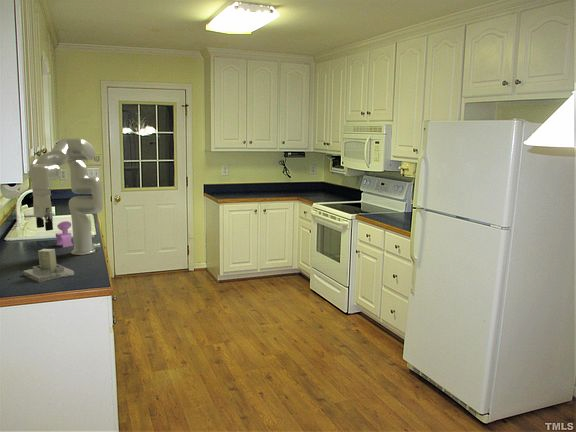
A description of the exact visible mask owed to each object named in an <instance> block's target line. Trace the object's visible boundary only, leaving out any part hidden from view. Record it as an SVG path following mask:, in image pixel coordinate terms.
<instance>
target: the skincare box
mask: <svg viewBox="0 0 576 432" xmlns="http://www.w3.org/2000/svg"><path fill="white" fill-rule="evenodd" d="M37 253H38V255H37V256H38V263H39V265H40V269H42V270H47V269H50V273H53V272H56V269H55V268H57V265H56V264H57V256H56V250H55V248H42V249H40V250H37Z"/></svg>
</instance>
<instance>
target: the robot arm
mask: <svg viewBox="0 0 576 432" xmlns="http://www.w3.org/2000/svg"><path fill="white" fill-rule="evenodd" d="M95 157H96V149H95V147H94V146H93V145H92V144H91V143H90V142H88V141H87V140H85V139H83V138H68V137H67V138H66V137H65V138H62V139H60V140H58V142H56V144H55V145H54V147H53V148H52V149H51V151H48V152H45V153H44V154H42V155H39V156H37V157H35V158H34V159H33V160H32V161H31V163H30V164H31V165H30V164H29V165H30V171H29V174H28V173H27V176H28V177H29V179H31V190H32V197H33V198H32V200H33V201H32V202H33V207H32V209H33V215H34V217H35V219H36V220H35V222H36V228H37V229H40V228H42V229H43V228H44V227H45V231H46V232H48V231H53V230H54V224H53V222H54V221H53V220H54V218H53V216H54V213H53V207H52V206H53V205H52V201H51V200H52V198H51V196H52V193H51V181H54V180H58V179H59V178H60V177H61V176H62V169H61V167H60V166H63V165H65V164H66V163H67V164H68V167H69V169H70V188H71V192H72V193H73V194H77V196H73V197H71V198H70V199H69V200H68V208H69V211H70V217H71V227H72V239H73V241H72V243H73V249H72V250H71V251H70V254H71V255H74V256H83V255H85V256H86V255H90V254H94V253H96V248H100V247H101V243H93V240H92V239H93V238H92V225H91V219H90V218H89V216H88V215H87V214H91V215H92V214H100V213H101V212H102V211H103V206H104V202H103V198H104V197H103V184H102V180H101V178H99V177H98V176H88V167H87V165H86V163H85V161H92V160H94V159H95ZM80 195H87V196H80ZM89 195H91V196H89ZM44 220H45V222H44Z"/></svg>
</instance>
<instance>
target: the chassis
mask: <svg viewBox="0 0 576 432" xmlns="http://www.w3.org/2000/svg"><path fill="white" fill-rule="evenodd" d="M56 265H57V268H55V269H56V272H53V273H50V269H47V270H42V269H40V264H39V265H34V266H32V267H31V269H30V268H29V269H26V270H22V273H23V276H26V277H27V278H29V279H31V280H33V281H35V282H37V283H42V282H47V281H48V282H49V281H53V280H56V279H61V278H66V277H71V276H74V275H75V271H74V270H73V269H70V268H67V267H65V266H63V265H60V264H58V263H56Z"/></svg>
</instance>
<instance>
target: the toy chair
mask: <svg viewBox="0 0 576 432" xmlns="http://www.w3.org/2000/svg"><path fill="white" fill-rule="evenodd" d="M56 225H57V226H56V227H57V228H58V230H59V231H61V232H57V233H56V232H55V239H56V246H62V248H68V247H74V243H73V241H72V232H69V229H70V228H71V227H72V221H68V220H64V221H61V222H59V223H58V224H56Z"/></svg>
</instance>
